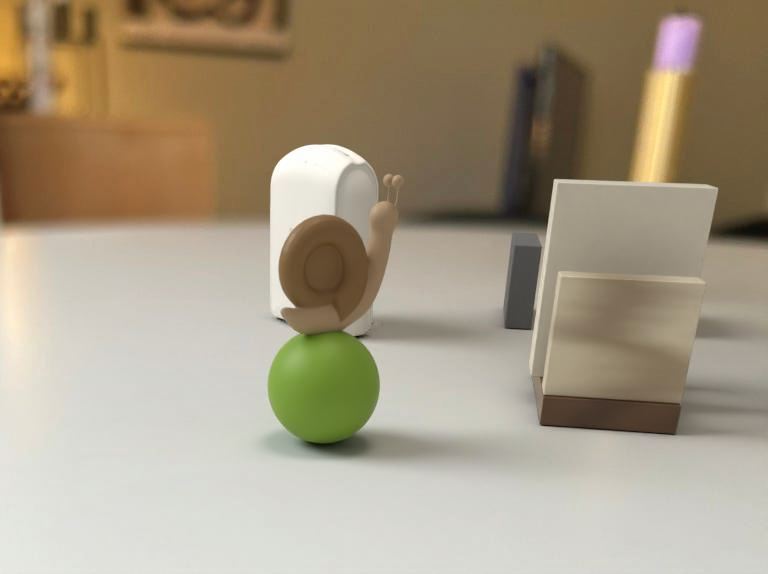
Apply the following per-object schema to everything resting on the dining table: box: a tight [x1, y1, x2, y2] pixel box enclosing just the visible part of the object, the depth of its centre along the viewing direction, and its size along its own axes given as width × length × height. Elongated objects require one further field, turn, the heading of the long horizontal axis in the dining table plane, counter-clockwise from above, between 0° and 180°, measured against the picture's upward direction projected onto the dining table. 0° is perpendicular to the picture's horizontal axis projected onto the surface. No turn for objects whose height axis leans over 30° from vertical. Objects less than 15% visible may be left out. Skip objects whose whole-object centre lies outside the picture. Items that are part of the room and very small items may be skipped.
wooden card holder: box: [531, 271, 707, 435], centre depth 56 cm, size 7×12×8 cm, turn 170°
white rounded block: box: [269, 143, 379, 337], centre depth 73 cm, size 10×4×12 cm, turn 29°
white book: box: [528, 178, 719, 377], centre depth 55 cm, size 3×8×10 cm, turn 80°
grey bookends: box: [502, 231, 543, 330], centre depth 78 cm, size 12×9×6 cm
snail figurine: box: [267, 173, 404, 444], centre depth 47 cm, size 5×6×12 cm
